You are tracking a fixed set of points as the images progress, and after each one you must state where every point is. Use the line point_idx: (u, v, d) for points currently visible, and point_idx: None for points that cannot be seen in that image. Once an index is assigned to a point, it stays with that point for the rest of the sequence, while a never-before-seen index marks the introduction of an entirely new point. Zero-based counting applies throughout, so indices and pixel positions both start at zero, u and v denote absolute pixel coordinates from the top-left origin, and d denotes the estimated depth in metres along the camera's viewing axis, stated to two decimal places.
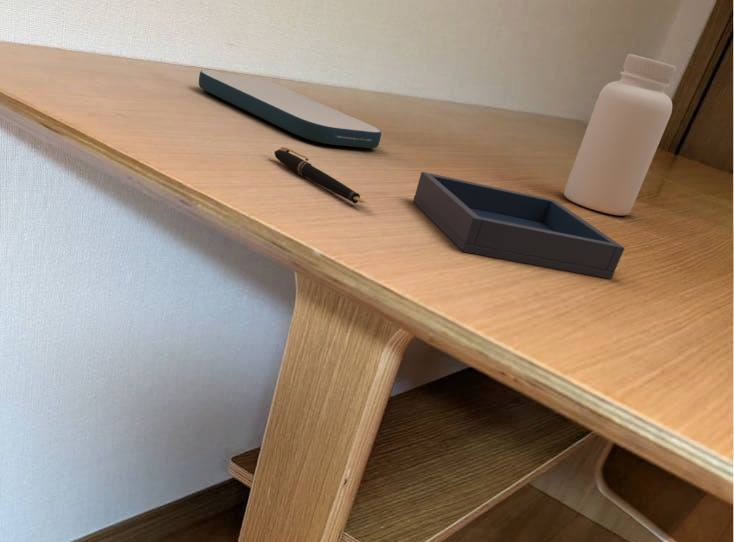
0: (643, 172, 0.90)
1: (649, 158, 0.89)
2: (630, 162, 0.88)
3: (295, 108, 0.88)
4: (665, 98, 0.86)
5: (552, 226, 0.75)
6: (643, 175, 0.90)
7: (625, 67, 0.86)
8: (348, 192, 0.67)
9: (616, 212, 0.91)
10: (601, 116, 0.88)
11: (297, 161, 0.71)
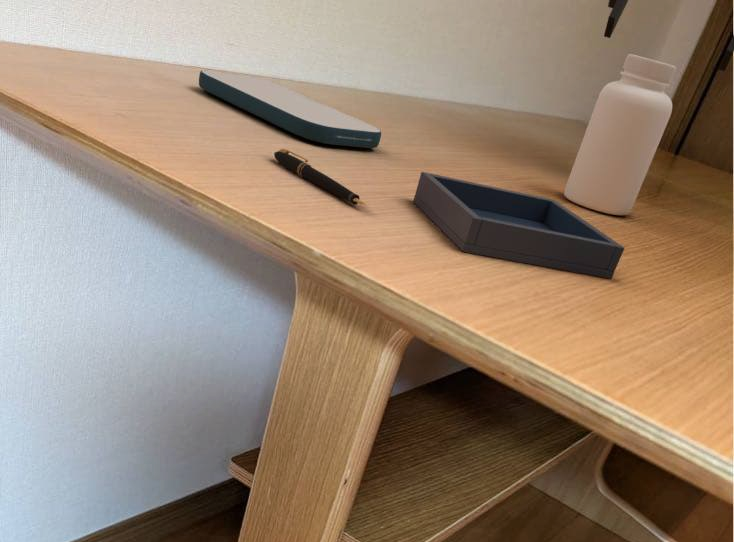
0: (643, 172, 0.90)
1: (649, 158, 0.89)
2: (630, 162, 0.88)
3: (295, 108, 0.88)
4: (665, 98, 0.86)
5: (552, 226, 0.75)
6: (643, 175, 0.90)
7: (625, 67, 0.86)
8: (347, 194, 0.67)
9: (616, 212, 0.91)
10: (601, 116, 0.88)
11: (297, 163, 0.71)
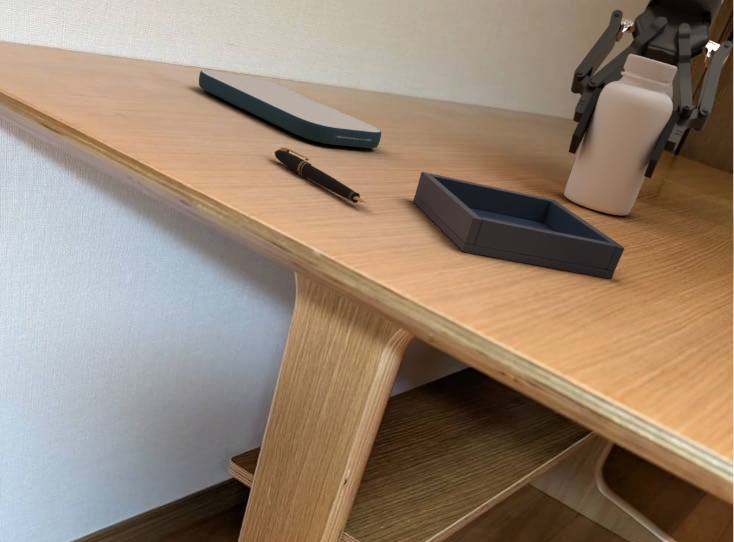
0: (643, 172, 0.90)
1: (649, 158, 0.89)
2: (630, 162, 0.88)
3: (295, 108, 0.88)
4: (666, 98, 0.86)
5: (552, 226, 0.75)
6: (643, 175, 0.90)
7: (626, 67, 0.86)
8: (348, 192, 0.67)
9: (616, 212, 0.91)
10: (602, 116, 0.88)
11: (297, 161, 0.71)
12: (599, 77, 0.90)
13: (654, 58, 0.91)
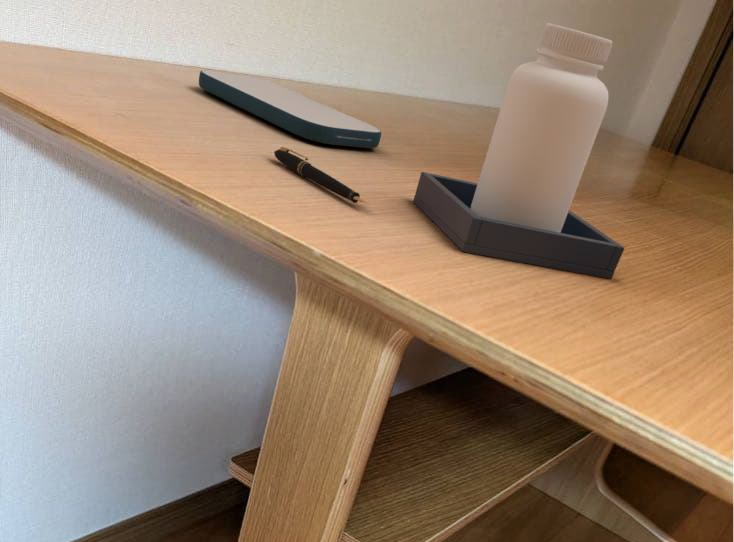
0: (571, 187, 0.65)
1: (578, 168, 0.65)
2: (551, 173, 0.64)
3: (295, 108, 0.88)
4: (597, 84, 0.62)
5: None
6: (571, 191, 0.66)
7: (542, 42, 0.62)
8: (347, 192, 0.67)
9: None
10: (511, 110, 0.63)
11: (297, 161, 0.71)
12: None
13: None
